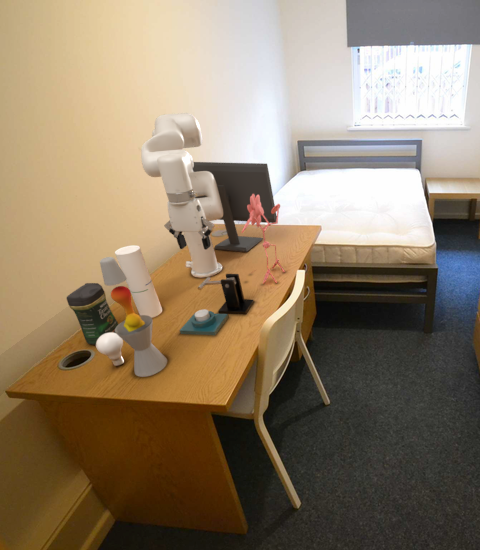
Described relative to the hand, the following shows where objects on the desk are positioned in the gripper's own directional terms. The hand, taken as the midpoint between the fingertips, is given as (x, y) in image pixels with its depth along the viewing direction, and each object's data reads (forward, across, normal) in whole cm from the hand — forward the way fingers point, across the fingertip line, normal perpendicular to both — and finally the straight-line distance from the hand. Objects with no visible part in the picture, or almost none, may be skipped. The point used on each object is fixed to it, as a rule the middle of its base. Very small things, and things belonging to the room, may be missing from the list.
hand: (195, 247), depth 121 cm
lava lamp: (+24, +4, +31) cm, 39 cm away
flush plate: (+24, -3, +11) cm, 27 cm away
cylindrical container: (+24, +21, +5) cm, 32 cm away
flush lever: (+15, -5, 0) cm, 15 cm away
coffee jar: (+24, +28, +19) cm, 41 cm away
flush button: (+21, -3, +11) cm, 24 cm away
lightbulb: (+24, +14, +31) cm, 42 cm away
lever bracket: (+24, -10, 0) cm, 26 cm away
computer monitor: (+24, +12, -55) cm, 61 cm away
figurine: (+24, -12, -23) cm, 36 cm away
